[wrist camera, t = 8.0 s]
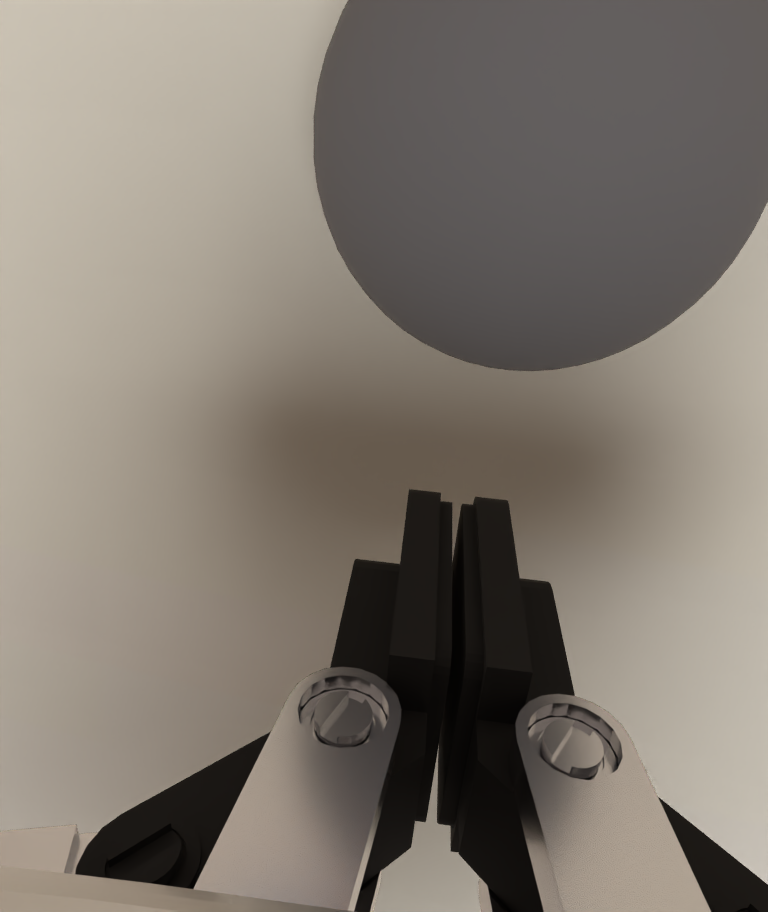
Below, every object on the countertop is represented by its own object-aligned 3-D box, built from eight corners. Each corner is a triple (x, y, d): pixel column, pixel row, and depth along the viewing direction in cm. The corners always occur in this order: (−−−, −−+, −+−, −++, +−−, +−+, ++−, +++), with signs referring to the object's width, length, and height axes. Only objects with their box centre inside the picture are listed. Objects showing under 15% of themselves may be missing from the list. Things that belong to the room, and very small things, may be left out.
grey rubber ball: (850, -351, 4) (672, -282, 8) (141, 126, 6) (281, -8, 10) (899, 373, 7) (755, 160, 11) (421, 504, 9) (444, 291, 13)
